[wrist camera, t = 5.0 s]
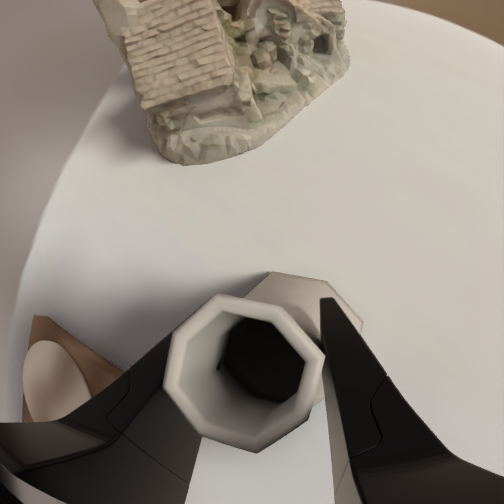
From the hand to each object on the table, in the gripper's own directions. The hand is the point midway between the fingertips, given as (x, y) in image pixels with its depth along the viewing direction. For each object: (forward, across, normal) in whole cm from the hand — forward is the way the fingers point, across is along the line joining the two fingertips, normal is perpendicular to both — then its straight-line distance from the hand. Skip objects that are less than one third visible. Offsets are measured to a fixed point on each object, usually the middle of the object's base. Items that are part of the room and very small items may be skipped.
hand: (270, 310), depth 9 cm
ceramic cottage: (+17, +2, -7) cm, 19 cm away
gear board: (-5, +16, +14) cm, 22 cm away
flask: (+4, 0, +6) cm, 7 cm away
